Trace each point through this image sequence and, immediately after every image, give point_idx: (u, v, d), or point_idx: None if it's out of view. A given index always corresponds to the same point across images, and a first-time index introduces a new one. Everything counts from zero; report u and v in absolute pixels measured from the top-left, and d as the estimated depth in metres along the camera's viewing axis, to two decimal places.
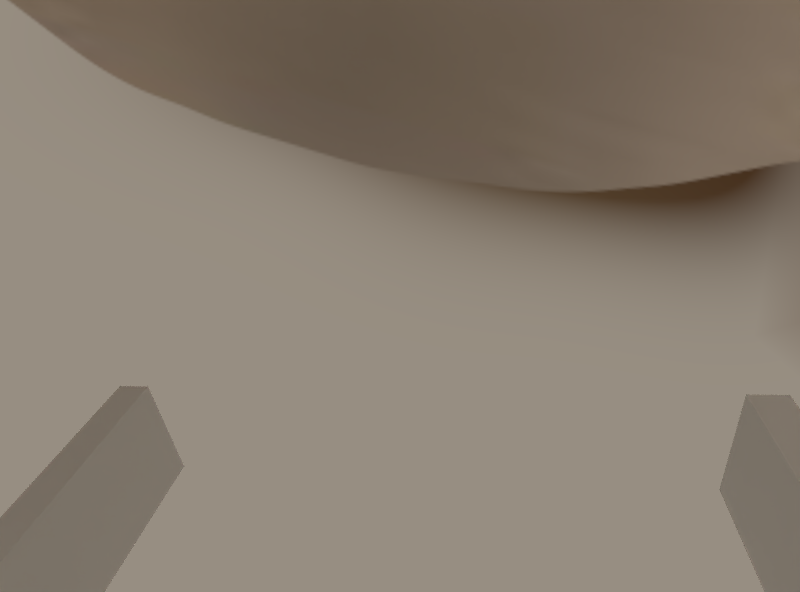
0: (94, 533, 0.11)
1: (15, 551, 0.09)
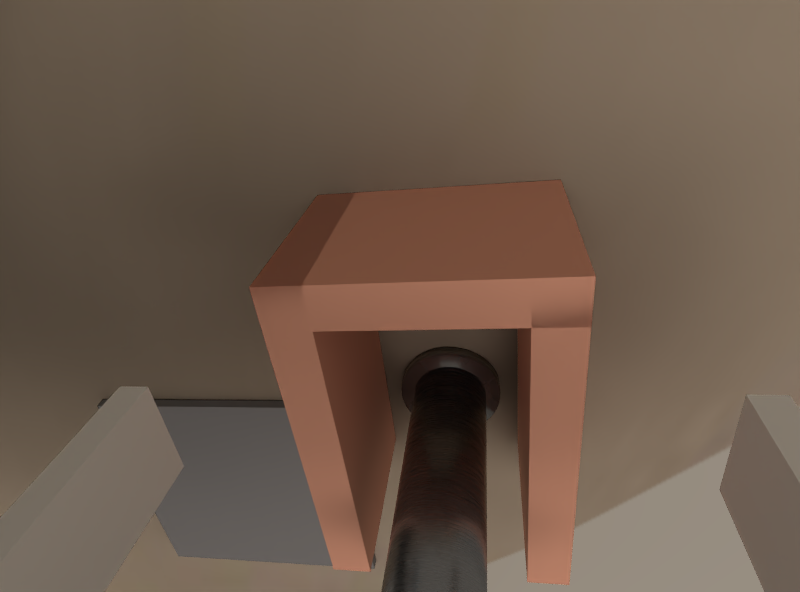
0: (94, 533, 0.11)
1: (15, 551, 0.09)
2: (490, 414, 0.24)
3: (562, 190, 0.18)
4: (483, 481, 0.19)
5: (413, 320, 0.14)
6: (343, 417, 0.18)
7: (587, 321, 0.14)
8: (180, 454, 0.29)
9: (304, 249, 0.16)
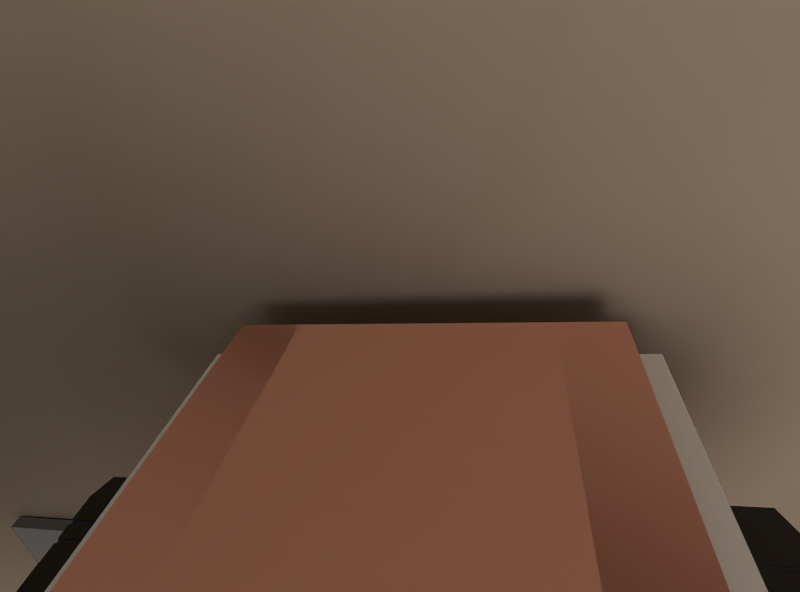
0: None
1: None
2: None
3: (634, 351, 0.11)
4: None
5: None
6: None
7: None
8: None
9: (178, 482, 0.09)
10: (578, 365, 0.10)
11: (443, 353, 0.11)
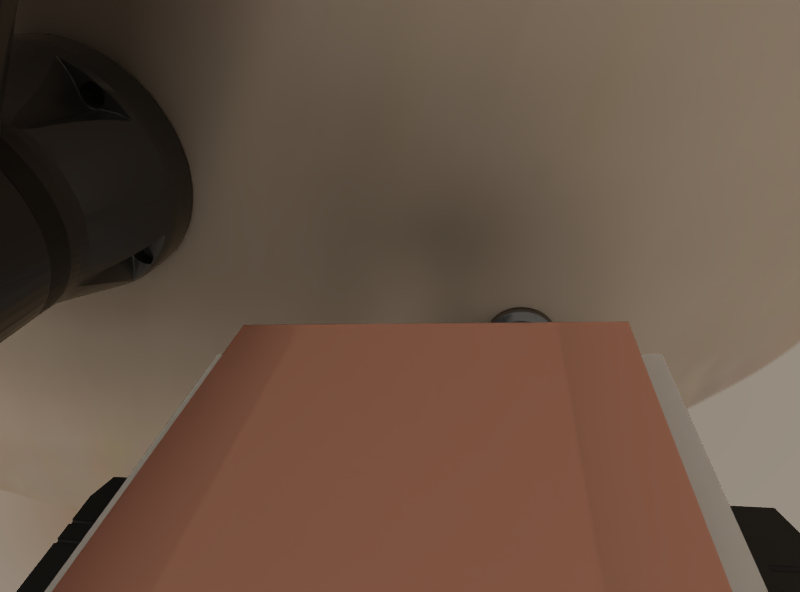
0: None
1: None
2: None
3: (635, 351, 0.11)
4: None
5: None
6: None
7: None
8: None
9: (179, 482, 0.09)
10: (579, 365, 0.10)
11: (444, 353, 0.11)
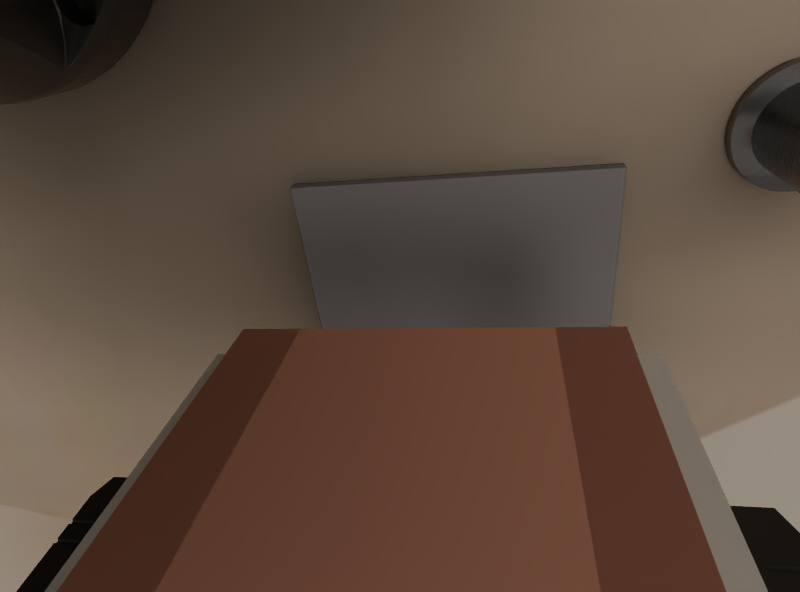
0: None
1: None
2: None
3: (634, 356, 0.11)
4: None
5: None
6: None
7: None
8: (385, 261, 0.23)
9: (178, 488, 0.09)
10: (578, 370, 0.10)
11: (443, 358, 0.11)
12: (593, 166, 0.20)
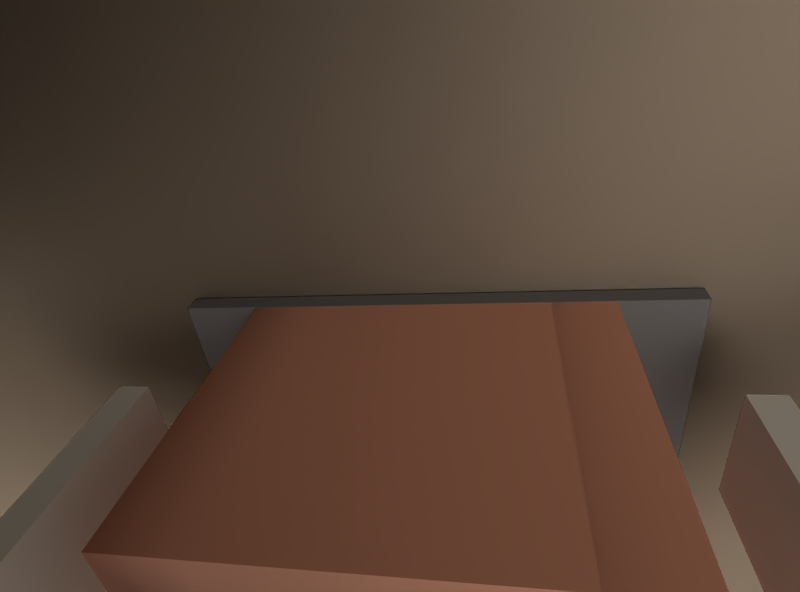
0: None
1: (16, 551, 0.09)
2: None
3: (623, 327, 0.11)
4: None
5: None
6: None
7: None
8: None
9: (202, 444, 0.10)
10: (571, 339, 0.11)
11: (446, 330, 0.12)
12: (655, 291, 0.12)
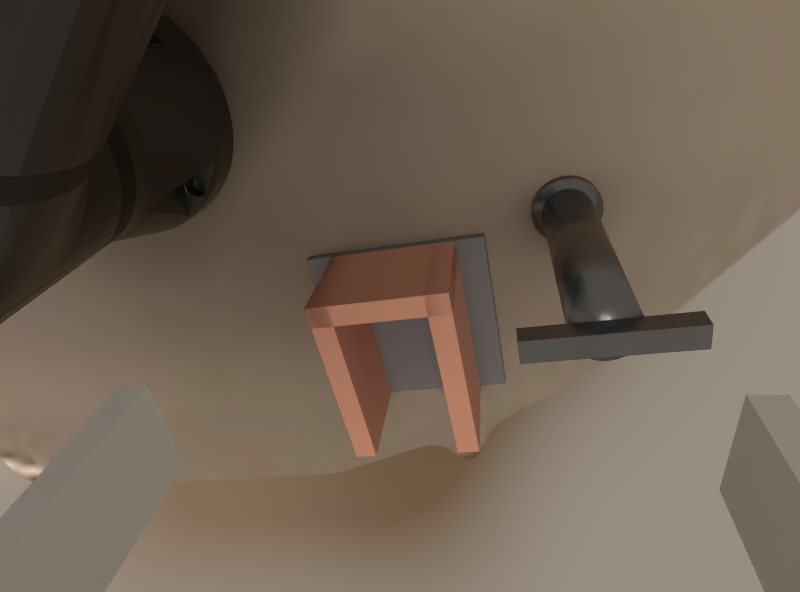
0: (94, 533, 0.11)
1: (15, 551, 0.09)
2: None
3: (452, 247, 0.36)
4: None
5: (377, 317, 0.32)
6: (353, 369, 0.36)
7: (450, 312, 0.31)
8: None
9: (326, 289, 0.34)
10: (435, 252, 0.35)
11: (397, 255, 0.36)
12: (468, 236, 0.37)
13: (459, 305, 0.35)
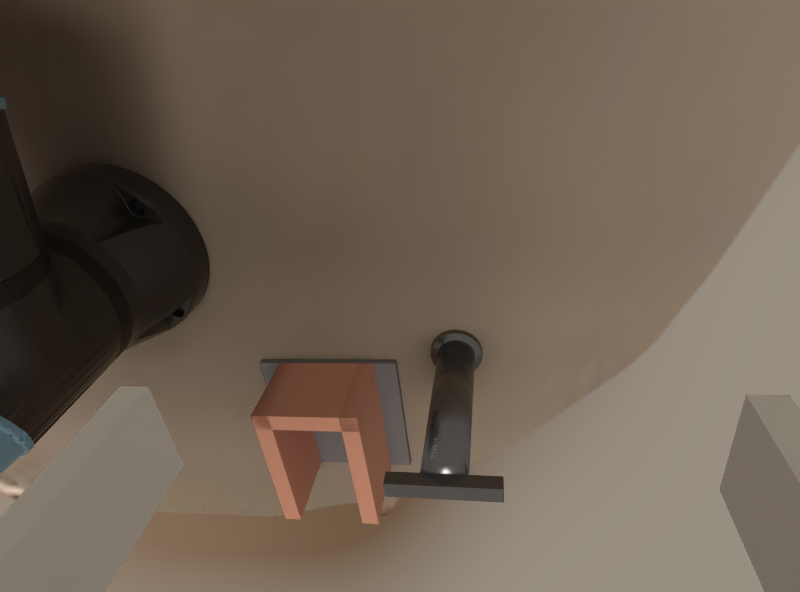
0: (94, 533, 0.11)
1: (15, 551, 0.09)
2: (477, 366, 0.46)
3: (370, 370, 0.47)
4: (471, 390, 0.41)
5: (304, 427, 0.43)
6: (286, 456, 0.47)
7: (357, 430, 0.42)
8: None
9: (270, 397, 0.45)
10: (357, 374, 0.47)
11: (328, 371, 0.47)
12: (384, 360, 0.48)
13: (370, 416, 0.46)
